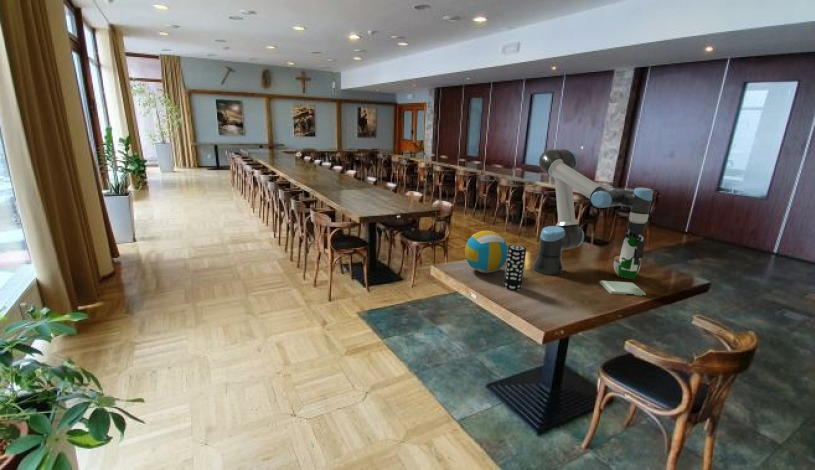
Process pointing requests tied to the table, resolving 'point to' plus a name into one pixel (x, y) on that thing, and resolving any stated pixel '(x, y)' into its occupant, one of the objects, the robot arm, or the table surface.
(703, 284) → the table surface
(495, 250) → the volleyball
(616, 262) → the lidded bowl
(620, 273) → the soya milk
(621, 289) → the board
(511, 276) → the spotted tube
